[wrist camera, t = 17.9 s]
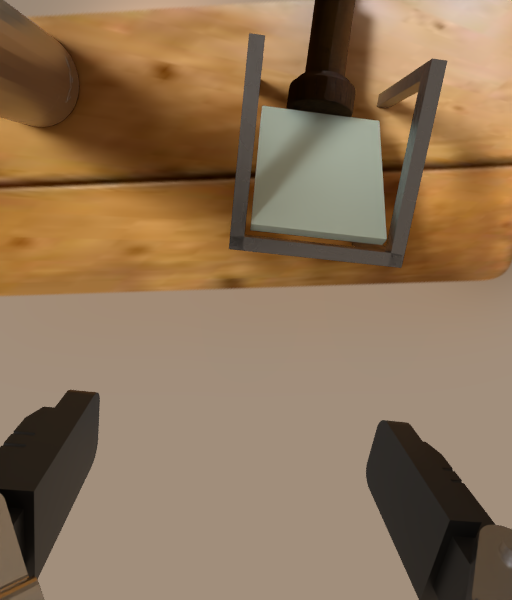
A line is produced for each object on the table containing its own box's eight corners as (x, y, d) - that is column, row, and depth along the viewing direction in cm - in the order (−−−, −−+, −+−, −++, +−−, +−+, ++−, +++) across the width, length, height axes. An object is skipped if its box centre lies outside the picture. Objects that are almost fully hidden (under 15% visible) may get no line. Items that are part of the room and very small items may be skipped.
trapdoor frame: (233, 231, 46) (228, 248, 34) (248, 77, 42) (249, 33, 30) (361, 246, 47) (401, 267, 35) (389, 96, 43) (447, 60, 30)
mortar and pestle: (328, 127, 44) (354, -52, 41) (365, 113, 38) (399, -96, 36) (275, 112, 41) (300, -81, 39) (308, 94, 35) (339, -134, 33)
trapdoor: (250, 230, 35) (251, 223, 34) (261, 113, 40) (262, 105, 39) (382, 245, 35) (386, 239, 35) (375, 128, 41) (379, 120, 40)
